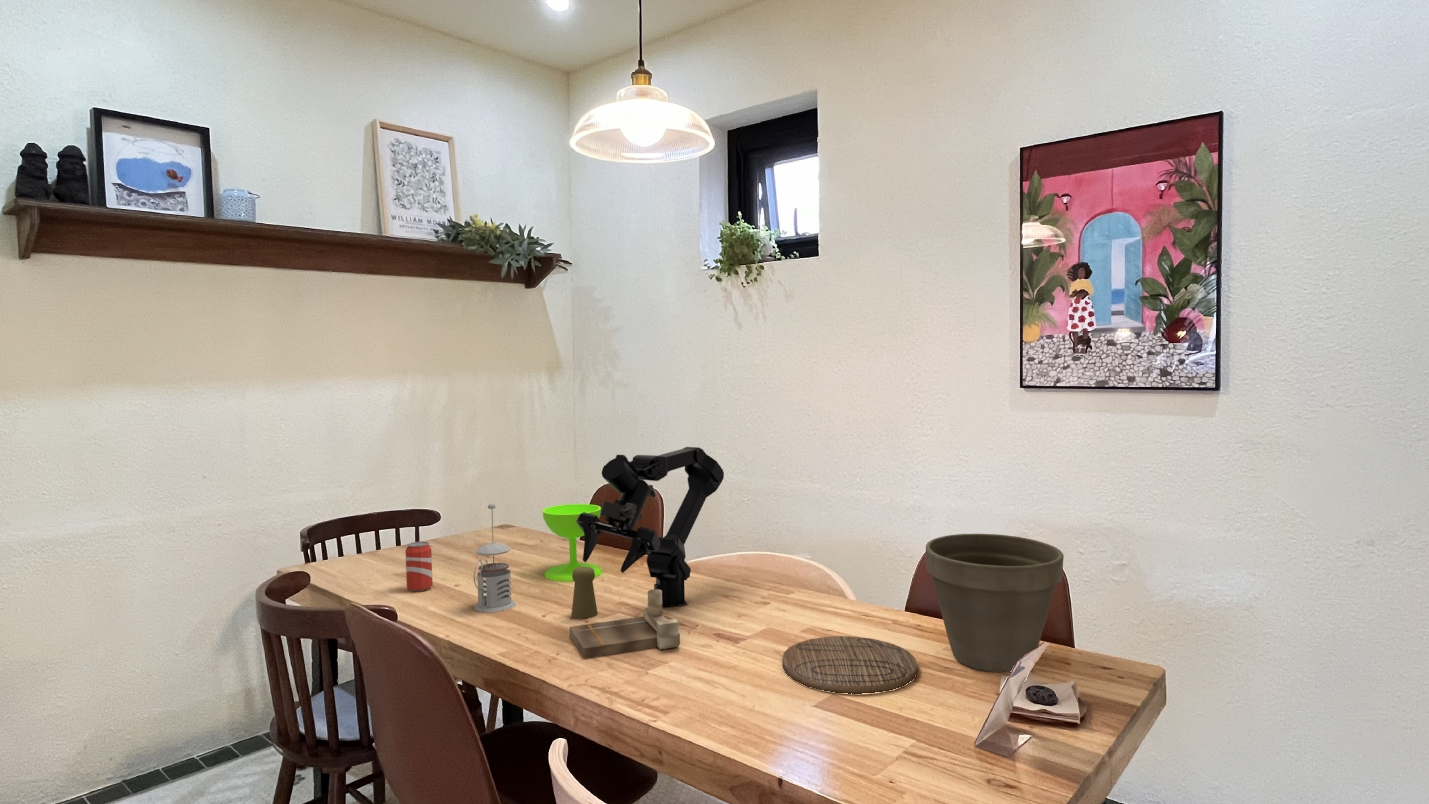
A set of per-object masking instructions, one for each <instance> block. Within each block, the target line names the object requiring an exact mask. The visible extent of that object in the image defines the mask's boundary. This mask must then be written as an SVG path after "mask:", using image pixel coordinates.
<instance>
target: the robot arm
mask: <svg viewBox="0 0 1429 804" xmlns="http://www.w3.org/2000/svg"><path fill="white" fill-rule="evenodd" d="M680 468H681V469H682V468H684V472H685V473H686V474H687V475H688V476H687V484H688V490H687V492H686V494H685V496H684V498H683V500H682V502H681V504H680V506H679V508H678V510H677V513H676V514H675V516H674V518H673V520H672V522H671V525H670V527H668V528H669V529H668V531H667V533H666V535H664V536H663V537H660V536H659V535H658V533H656V531H655V530H654V529H651V528H647V527H643V526H639V527H638V528H637V530H635V528H636V525H637V523H638V521H639V520H640V521H641V520H642V518H643V515H642V511H643V510H644V507H645V504H646V502H647V500H648V498H655V497H656V492H655V490H654V486H653V485H652V484H648V483H647V482H646V481H650V482H659V481H661V480H662V479H664V478H665V477H667V476H668V473H670V472H671V471H674V470H678V469H680ZM601 476H602V478H603V479H604V480H605V481H606V482H607V483H608V485H610V486H611V487H612V488H613V489H614V490H615V491H616V492H617V493H619V494H620V497H619V498H618V499H615V500H614V502H611V501H605V500H604V501H603V503H602V506H601V513H600V517H601V516H603V517H604V519H605V521H606V522H603V521H601V520H600V517H599V518H598V516H597V515H593V514H589V513H585V512H583V513H581V514H580V515H579V516H578V518H577V520H576V522H577V524H578V525H579V527H580V528H581V529H582V531H583V532H584V545H583V554H582V561H583V563H586V562H587V561H588V560H589V558H590V557H591V555H592V553H593V551H594V550H595V548H596V545H597V543H598V541H599V540H600V538H599V535H601V533H606V534H611V535H615V536H618V537H622V538H626V539H630V540H631V546H630V549H629V550H628V552H627V555H626V557H625V559H624V560H623V563H622V565H621V568H620V573H622V574H624V573H625V572H626V571H627V570H628V569H629V568H630V567H631V566H633V565H634V564H635V563H636V562H637V561H638V560H640V559H641V558H643V557H644V556H645V555H647V557H646V566H647V570H648V573H649V576H650V578H655V583H654V584H653V589H659V590H662V608H668V607H674V606H682V605H683V606H684V605H688V601H687V600H686V598H685V597H686V596H685V581H687V580H688V579H689V578H690V577H691V571H692V569H691V567H690V565H689V564H688V563H687V562H686V561H685V560H686V547H685V545H686V542H687V540H688V537H689V536H690V533H691V531H692V529H693V527H694V524H695V523H696V520H697V518H698V517H699V514H700V512H701V510H702V508H703V506H704V504H705V501H706V499H707V498H708V497H710V496H712V494H713V493H715V492H716V491H717V490H718V489H719V488H720V486H721V484H722V482H723V480H724V477H725V472H724V470H723V468H722V466H721V465H720V464H719V462H718V461H717V460H716V459H714V458H713V457H712V456H710V455H708V454H707V453H706V452H705V450H704V449H703V448H701V447H699V446H697V447H696V446H695V447H694V446H685V447H683V448H681V449H677V450H673V451H670V452H666V453H663V454H658V455H651V454H649V455H648V454H636V455H635V456H633V457H632V460H631V461H629V459H628V457H627V456H626V455H624V454H616V456H615V458H612V459H611V460H609V461H608V462H607V463H606V464H604V466H603V467H602V470H601ZM607 522H608V523H607Z"/></svg>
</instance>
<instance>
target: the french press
mask: <svg viewBox="0 0 1429 804" xmlns="http://www.w3.org/2000/svg"><path fill="white" fill-rule="evenodd" d="M487 509H488V510H491V534H492V536H491V537H492V538H491V539H492V540H491V541H492V542H490V543H486V544H484V545H482V546H480V547H478V548H477V549H476V550H475V553H476V554H477V555H479V556H488V557H489V556H492V562H490V563H488V560H487V559H484V561H483V562H482V560H481V559H478V561H477V562H476V565H475V567H474V570H473V582H474V587H475V588H476V590H477V599H478V600H477V601H478V603H476V604H475V606H474V608H473V610H475V611H477V612H479V613H497V612H498V611H500V612H503V611H502V610H504V611H508V610H510V608H511V609H513V608H515V606H516V604H517V603H516V602H515V601H514V600H513V599H512V592H511V591H512V587H511V586H512V582H511V579H512V576H511V570H510V569H508V568H509V567H510V564H508V563H506V562H495V556H498V555H503V554H506V553H508V552H509V551H511V547H510V546H508V545H506V544H504V543H499V542H494V520H493V519H494V517H493V515H494V513H493V510H494V509H497V506H496V504H495V503H494V502H493V503H492V502H491V503H489V504H488V505H487ZM479 563H480V565H479V566H478V564H479ZM477 566H478V570H479V572H477V573H476V570H477ZM476 575H477V583H476ZM484 578H485V579H484ZM485 594H486V595H485ZM507 609H508V610H507ZM498 613H499V612H498Z"/></svg>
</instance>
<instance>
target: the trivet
mask: <svg viewBox="0 0 1429 804" xmlns="http://www.w3.org/2000/svg"><path fill="white" fill-rule="evenodd" d="M781 660H782V662H781V665H782V666H781V667H783V668H782V670H783V669H784V670H783V672H784V671H785V672H784V674H785V673H786V674H787V675H788V676H790V677H791V678H792V679H793V680H795V681H797V682H799V683H801V684H803V685H805V686H807V687H806V688H809V687H812V688H816V689H819V690H824V691H830V692H835V693H848V694H851V693H852V694H862V693H875V692H883V691H889V690H893V689H896V688H899V687H902V686H904V685H906V684H907V683H909V682H910V681H912V680H913V679H914V678H915V679H916V677H915V675H916V674H917V675H918V663H917V659H916V657H915V656H914V655H913V654H912V653H911V652H909V651H908V650H906V649H905V648H903V647H901V646H899V645H897V644H894V643H890V642H888V641H885V640H879V639H875V638H869V637H864V636H863V637H862V636H850V635H849V636H848V635H847V636H846V635H836V636H832V635H831V636H821V637H815V638H810V639H806V640H802V641H799V642H797V643H795V644H792V645H791V646H789V647H788V648H787V649H786V650H785V651H784V652H783V654H782V658H781ZM786 674H785V675H786ZM787 675H786V676H787ZM917 675H916V676H917ZM788 676H787V677H788ZM790 677H789V678H790ZM791 678H790V679H791ZM792 679H791V680H792ZM915 679H914V680H915ZM793 680H792V681H793ZM795 681H794V682H795ZM797 682H796V683H797ZM912 682H913V681H912ZM799 683H798V684H799ZM801 684H800V685H801ZM803 685H802V686H803ZM805 686H804V687H805ZM812 688H811V689H812ZM902 688H903V687H902ZM819 690H818V691H819ZM835 693H834V694H835Z"/></svg>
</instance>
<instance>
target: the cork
mask: <svg viewBox="0 0 1429 804" xmlns="http://www.w3.org/2000/svg"><path fill="white" fill-rule="evenodd" d="M572 578H573V581H572V582H574V586H573V596H572V597H573V598H572V607H571V618H574V619H580V620H585V619H586V620H587V619H590V618H591V619H592V618H594V617H596V616H598V615H599V614H598V608H597V607H598V606H597V602H596V601H597V600H596V593H595V588H594V580H595V578H596V577H595V572H594V570H593V568H591V567H578V568H576V569H574V571H573V573H572Z"/></svg>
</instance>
